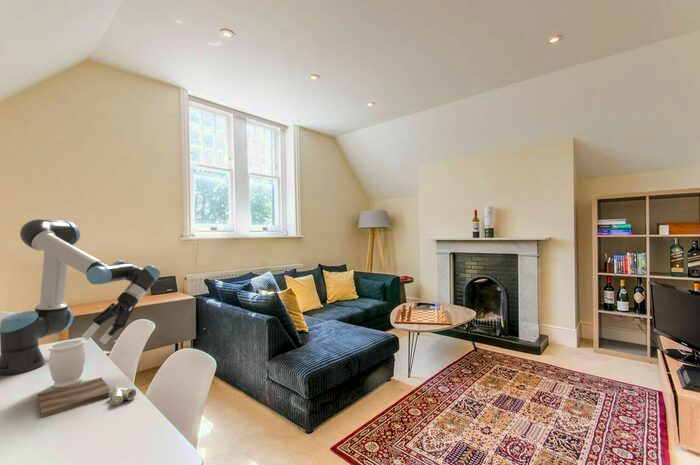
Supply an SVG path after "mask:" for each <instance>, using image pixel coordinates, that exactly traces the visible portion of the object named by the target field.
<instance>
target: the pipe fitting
mask: <svg viewBox="0 0 700 465" xmlns="http://www.w3.org/2000/svg"><path fill="white" fill-rule="evenodd" d="M136 396H137V389H136V388H128V387H127V388H125V387H120V386H112V387H111V388H110V391H109V397H108V398H109V399H111V400H110V404H112V406H118V405H121V404H122V403H123V402H124V400H125V401H132V400H133V399H134V398H135V397H136Z"/></svg>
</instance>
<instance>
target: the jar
mask: <svg viewBox="0 0 700 465" xmlns="http://www.w3.org/2000/svg"><path fill="white" fill-rule="evenodd" d="M84 345H85V340H83V339H76V340H68V341H63V342H59V343H55V344H52V345H50V346H49V347H48V351H49V352H50V353H49V358H48V368H49V371H50V376H51V379H52V380H53V382H54V383H53V384H52V386H53V388H55V389H59V388H63V387H67V386H71V385H74V384H78V383H81V382H82V381H83V377H82V374H83V372H84V368H85V362H86V351H85V347H84Z"/></svg>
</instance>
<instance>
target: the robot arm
mask: <svg viewBox="0 0 700 465" xmlns="http://www.w3.org/2000/svg"><path fill="white" fill-rule="evenodd" d="M19 236H20V240H21V241H22V242H23V243H24V244H25V245H26V246H28V247H29V248H31V249H33V250H35V251H37V252H38V251H40V252H43V262H42V263H43V264H42V274H41V275H42V276H41V286H40V299H39V303H38V304H37V305H36V306H34V310H28V311H23V312H17V313H13V314H10V315H8V316H5V317H4V318H2V319H1V321H0V375H5V376H11V375H18V374H22V373H26V372H30V371H33V370H36V369H39V368H40V366H41V367H42V366H44V365H45V358H44V356H43V354H42V352H41V349H40V348H39V339H43V338H45V337H49V336H52V335H56V334H60V333H62V332H63V331H66V330H67V329H68V328H70V327H71V325H72V324H73V320H74V313H73V312H72V309H71V308H69V304H68V303H67V302H65V299H66V298H65V296H66V283H67V271H68V266H70V267H71V268H73V269H75V270H77V271H78V272H80V273H82V274H84V275H86V276H85V277H86V280H87V281H88V282H89V283H90V284H92V285H104V284H109V283H114V282H120V281H128V282H130V283H129V284H128V285H127V286H126V288H125V289H124V290H123V291H124V292H122V293H120V295H119V296H118V297H117V298H116V300H117V301H118V302H117V303H114V302H112V303H110V305H108V307H106V308H105V309H104V310H103V311H102V312H100V313H99V314H98V315H97V316H96V317H94V318H93V319H92V321H93V323H92V324H91V325H90V326H89V328H88V329H87V330H86V331H85V332H84V333H83V334H82V336H81V337H82V338H83V339H85V340H87V341H88V340H90V338H91V337H92V336H93V335H95V332H97V330H98V329H99V328H100V327H101V326H102V324H103V323H105V322H106V321H108V320H109V319H111V318H112V317H115V319H114V322H113V323H112V325H111V326H110V327H109V328H108V329H107V330H106V331H105V333H104V334H103V335H102V336H101V338H100V339H99V340H98V341H99V342H101V343H102V344H105V345H107V343H108V342H109V341H110V339H111V338H112V337H113V336H114V335H115V333H116V332H118V330H120V329H123V328H125V326H126V324H127V322H128V320H129V318H130V316H131V313H132V312H133V310H134V309H135V307H136V305H137V304H138V303H139V301H140V300H142V298H143V297H144V296H145V294H146V293H147V292H148V291H149V289H150V288H151V287H153V285H154V284H155V283H156V282H157V280H158V279H159V277H160V276H161V273H162V272H161V271H160V270H159V269H158V268H157V267H156V266H154V265H152V264H147V265H146V266H144V267H141V266H139V265H136V264H133V263H132V262H131V263H130V262H129V261H127V260H123V259H119V260H116V261H114V262H113V263H112V264H107V263H105V262H103V261H101V260H99V259H98V258H96V257H94V256H93V255H90V254H88V253H87V252H85V251H83V250H81V249H79V248H78V247H76V246H75V244H77V243H78V242H79V240H80V238H81V232H80V229H79V227H78V226H77V225H76V224H75V223H74V222H73V221H68V220H62V219H33V220H29V221H28V222H26V223H25V224H23V226H21V228H20V231H19ZM43 364H44V365H43ZM35 368H36V369H35Z"/></svg>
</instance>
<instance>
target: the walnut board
mask: <svg viewBox="0 0 700 465" xmlns="http://www.w3.org/2000/svg"><path fill="white" fill-rule="evenodd" d="M110 390H111V388H110V387H109V386H108V384H107V382H105V380H104V379H103V377H97V378H94V379H90V380H85V381H81V382H79V383H77V384H74V385H71V386H67V387H61V388H55V389H52V390H49V391H44V392H42V393H38V394H37V398H36V399H37V403H38V407H39V412H40V413H39V414H40V417H41V418H44V417H48V416H51V415H53V414H57V413H61V412H64V411H67V410H71V409H73V408H77V407H81V406H84V405H87V404H89V403H93V402H96V401H100V400H103V399H106V398H109V391H110Z"/></svg>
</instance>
